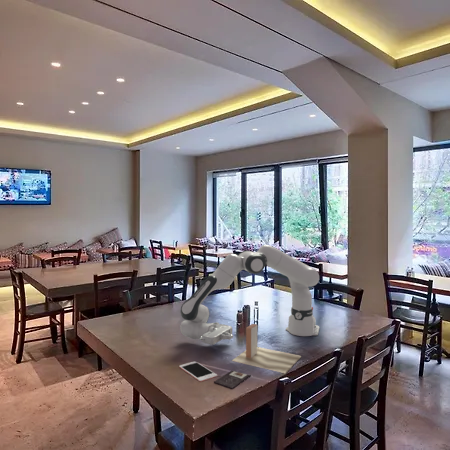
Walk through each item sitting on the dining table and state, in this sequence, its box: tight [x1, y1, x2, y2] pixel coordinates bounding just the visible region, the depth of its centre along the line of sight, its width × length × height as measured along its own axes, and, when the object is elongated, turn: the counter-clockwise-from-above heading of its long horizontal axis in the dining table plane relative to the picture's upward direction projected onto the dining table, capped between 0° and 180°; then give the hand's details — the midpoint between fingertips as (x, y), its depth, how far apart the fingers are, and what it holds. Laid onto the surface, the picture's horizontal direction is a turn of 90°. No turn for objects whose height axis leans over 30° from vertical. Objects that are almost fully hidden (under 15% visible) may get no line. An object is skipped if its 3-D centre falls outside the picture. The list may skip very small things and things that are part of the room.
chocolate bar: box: [213, 370, 252, 390], centre depth 152 cm, size 9×1×18 cm
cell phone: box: [178, 360, 218, 383], centre depth 158 cm, size 9×18×1 cm, turn 36°
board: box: [231, 346, 302, 376], centre depth 171 cm, size 22×26×1 cm
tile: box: [245, 323, 259, 358], centre depth 175 cm, size 7×3×14 cm, turn 150°
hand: (231, 337), depth 180 cm, fingers closed
